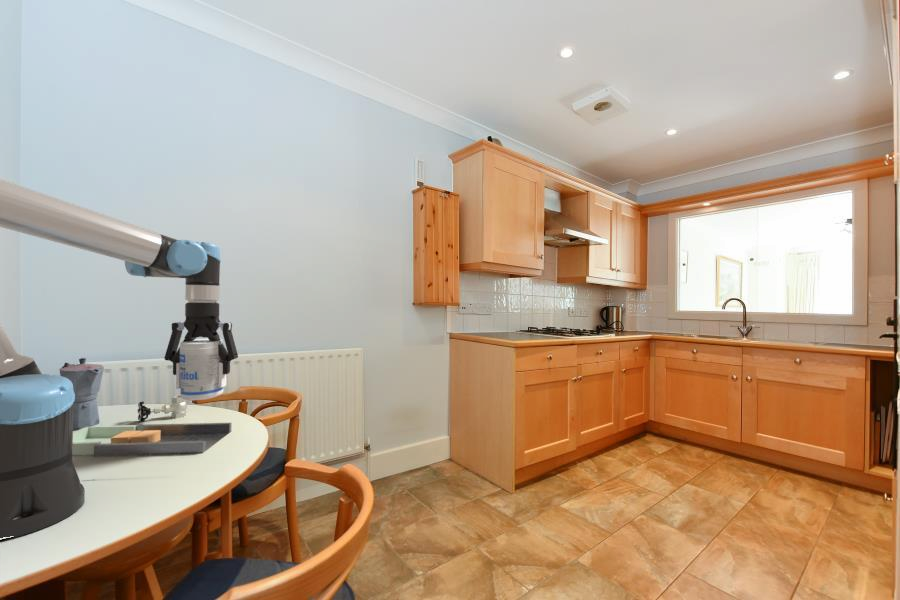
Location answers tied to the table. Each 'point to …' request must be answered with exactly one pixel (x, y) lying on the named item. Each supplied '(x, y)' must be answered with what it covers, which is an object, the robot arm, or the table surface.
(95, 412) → the moka pot
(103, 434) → the tray
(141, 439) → the orange flat block
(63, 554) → the table surface
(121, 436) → the chip
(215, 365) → the supplement tub
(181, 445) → the tray
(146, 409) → the valve
